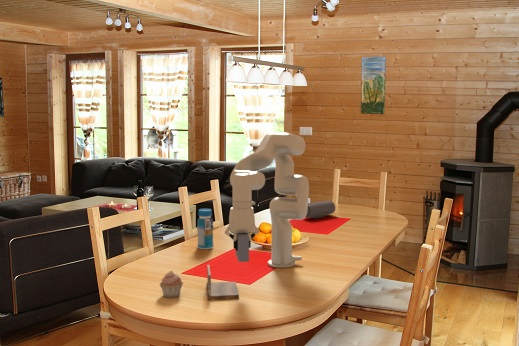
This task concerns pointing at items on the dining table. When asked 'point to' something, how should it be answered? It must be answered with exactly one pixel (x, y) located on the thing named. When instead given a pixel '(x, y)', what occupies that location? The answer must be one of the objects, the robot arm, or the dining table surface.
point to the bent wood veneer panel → (220, 289)
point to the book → (243, 247)
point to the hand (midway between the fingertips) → (242, 249)
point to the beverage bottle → (205, 229)
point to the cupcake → (171, 285)
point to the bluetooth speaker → (320, 209)
